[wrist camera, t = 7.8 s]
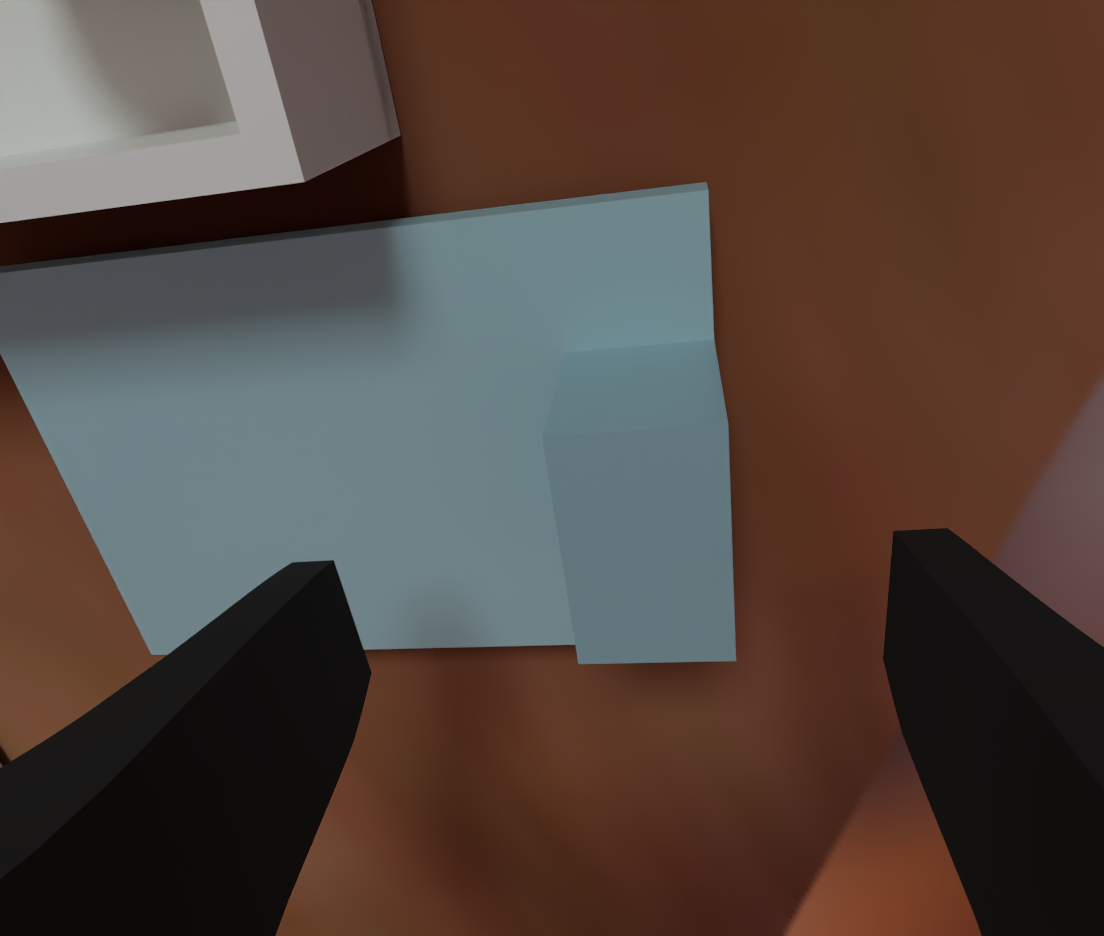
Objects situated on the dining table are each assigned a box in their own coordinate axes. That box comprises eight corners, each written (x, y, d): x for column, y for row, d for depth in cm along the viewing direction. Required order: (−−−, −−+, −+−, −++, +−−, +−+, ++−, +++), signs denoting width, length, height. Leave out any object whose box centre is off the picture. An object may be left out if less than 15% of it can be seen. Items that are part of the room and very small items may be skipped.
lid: (183, 613, 19) (65, 764, 15) (18, 255, 15) (-201, 340, 11) (721, 596, 17) (739, 765, 13) (703, 172, 13) (722, 242, 9)
